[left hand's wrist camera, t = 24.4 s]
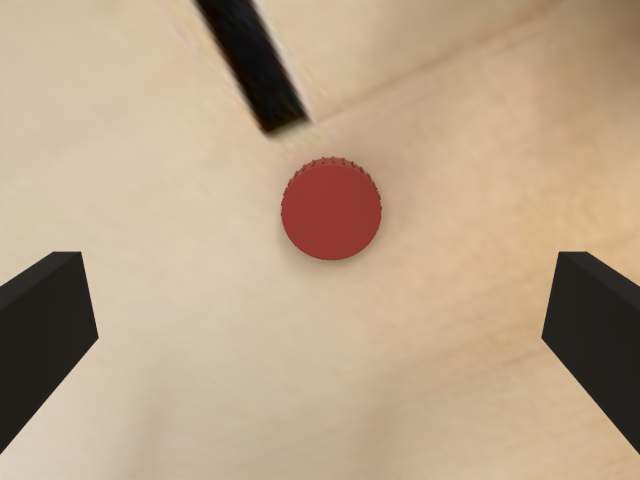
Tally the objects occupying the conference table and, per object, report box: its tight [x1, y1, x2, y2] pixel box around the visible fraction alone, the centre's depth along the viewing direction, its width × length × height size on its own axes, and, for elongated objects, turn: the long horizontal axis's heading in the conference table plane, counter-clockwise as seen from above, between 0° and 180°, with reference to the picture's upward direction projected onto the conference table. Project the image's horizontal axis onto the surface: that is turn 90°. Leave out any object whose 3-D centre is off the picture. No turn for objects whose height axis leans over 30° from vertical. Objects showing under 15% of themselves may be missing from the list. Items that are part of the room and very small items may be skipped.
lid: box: [281, 157, 382, 260], centre depth 23 cm, size 5×5×2 cm
